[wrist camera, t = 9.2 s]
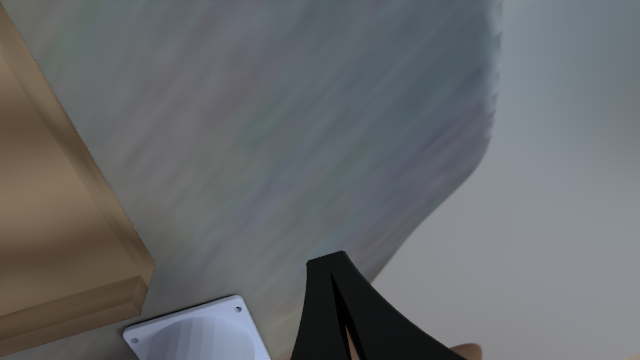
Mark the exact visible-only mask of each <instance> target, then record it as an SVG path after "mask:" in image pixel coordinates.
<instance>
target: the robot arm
mask: <svg viewBox="0 0 640 360" xmlns="http://www.w3.org/2000/svg"><path fill="white" fill-rule="evenodd" d="M306 266H307V282H306V293H305V300H304V306H303V312H302V317H301V322H300V326H299V331H298V335H297V339H296V342H295V346H294V349H293V353H292V356H291V359H290V360H352V358H351V353H350V348H349V343H348V338H347V332H346V327H347V330H348V332H349V335H350V337H351V340H352V342H353V345H354V347H355V350H356V352H357V355H358V357H359V360H468V359H466V358H464V357H462V356H461V355H459V354H457V353H456V352H454V351H452V350H451V349H449V348H448V347H446V346H445V345H443V344H442V343H440V342H439V341H437V340H435V339H434V338H433V337H431V336H429V335H428V334H426V333H425V332H424V331H422V330H421V329H420V328H418V327H417V326H416V325H414V324H413V323H412V322H410V321H409V320H408V319H407V318H406V317H404V316H403V315H402V314H401V313H400V312H398V311H397V310H396V309H395V308H394V307H393V306H392V305H391V304H390V303H388V302H387V301H386V300H385V299H384V298H383V297H382V296H381V295H380V294H379V293H378V292H377V291H376V290H375V289H374V288H373V287H372V286H371V284H370V283H369V282H368V281H367V280H366V279H365V278H364V277H363V276H362V274H361V273H360V272H359V271H358V270H357V268H356V267H355V266H354V264H353V263H352V262H351V260H350V259H349V257H348V255H347V254H346V252H344V251H338V252H335V253H332V254H328V255H325V256H322V257H318V258H315V259H311V260H309V261H308V262H307V263H306ZM236 307H240V308H236ZM345 325H346V327H345ZM123 338H124V339H125V340H126V342H127V343H128V344H129V346H130V347H131V348H132V350H133V351H134V352H135V354H136V355H137V356H138V358H139V359H140V360H271V359H270V356H269V354H268V352H267V350H266V348H265V346H264V344H263V341H262V339H261V337H260V335H259V333H258V331H257V328H256V326H255V324H254V322H253V320H252V318H251V316H250V313H249V311H248V309H247V307H246V305H245V303H244V300H243V298H242V297H241V296H238V295H234V296H230V297H227V298H223V299H220V300H217V301H213V302H210V303H207V304H203V305H200V306H197V307H193V308H190V309H187V310H183V311H180V312H177V313H173V314H170V315H167V316H163V317H160V318H157V319H153V320H150V321H147V322H143V323H140V324H137V325H133V326H130V327H127V328H126V329H125V330H124V333H123ZM134 338H136V339H134Z"/></svg>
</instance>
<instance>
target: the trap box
mask: <svg viewBox="0 0 640 360" xmlns="http://www.w3.org/2000/svg"><path fill="white" fill-rule="evenodd" d="M155 265H156V264H155V262H154V261H153V259H152V257H151V256H150V254H149V252H148V251H147V249H146V247H145V246H144V244H143V242H142V240H141V239H140V237H139V235H138V234H137V232H136V230H135V229H134V227H133V225H132V224H131V222H130V220H129V219H128V217H127V215H126V213H125V212H124V210H123V208H122V207H121V205H120V203H119V202H118V200H117V198H116V197H115V195H114V193H113V192H112V190H111V188H110V187H109V185H108V183H107V181H106V180H105V178H104V176H103V175H102V173H101V171H100V170H99V168H98V166H97V165H96V163H95V161H94V160H93V158H92V156H91V154H90V153H89V151H88V149H87V148H86V146H85V144H84V143H83V141H82V139H81V138H80V136H79V134H78V133H77V131H76V129H75V127H74V126H73V124H72V122H71V121H70V119H69V117H68V116H67V114H66V112H65V111H64V109H63V107H62V106H61V104H60V102H59V101H58V99H57V97H56V95H55V94H54V92H53V90H52V89H51V87H50V85H49V84H48V82H47V80H46V79H45V77H44V75H43V74H42V72H41V70H40V68H39V67H38V65H37V63H36V62H35V60H34V58H33V57H32V55H31V53H30V52H29V50H28V48H27V47H26V45H25V43H24V41H23V40H22V38H21V36H20V35H19V33H18V31H17V30H16V28H15V26H14V25H13V23H12V21H11V20H10V18H9V16H8V15H7V13H6V11H5V9H4V8H3V6H2V4H1V3H0V357H2V356H5V355H9V354H12V353H15V352H19V351H22V350H25V349H29V348H32V347H35V346H39V345H42V344H45V343H49V342H52V341H55V340H59V339H62V338H66V337H69V336H72V335H76V334H79V333H82V332H86V331H89V330H92V329H96V328H99V327H102V326H106V325H109V324H112V323H116V322H119V321H122V320H126V319H129V318H132V317H136V316H139V315H140V314H141V311H142V307H143V304H144V301H145V297H146V294H147V291H148V288H149V284H150V281H151V278H152V274H153V271H154V268H155Z"/></svg>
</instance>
